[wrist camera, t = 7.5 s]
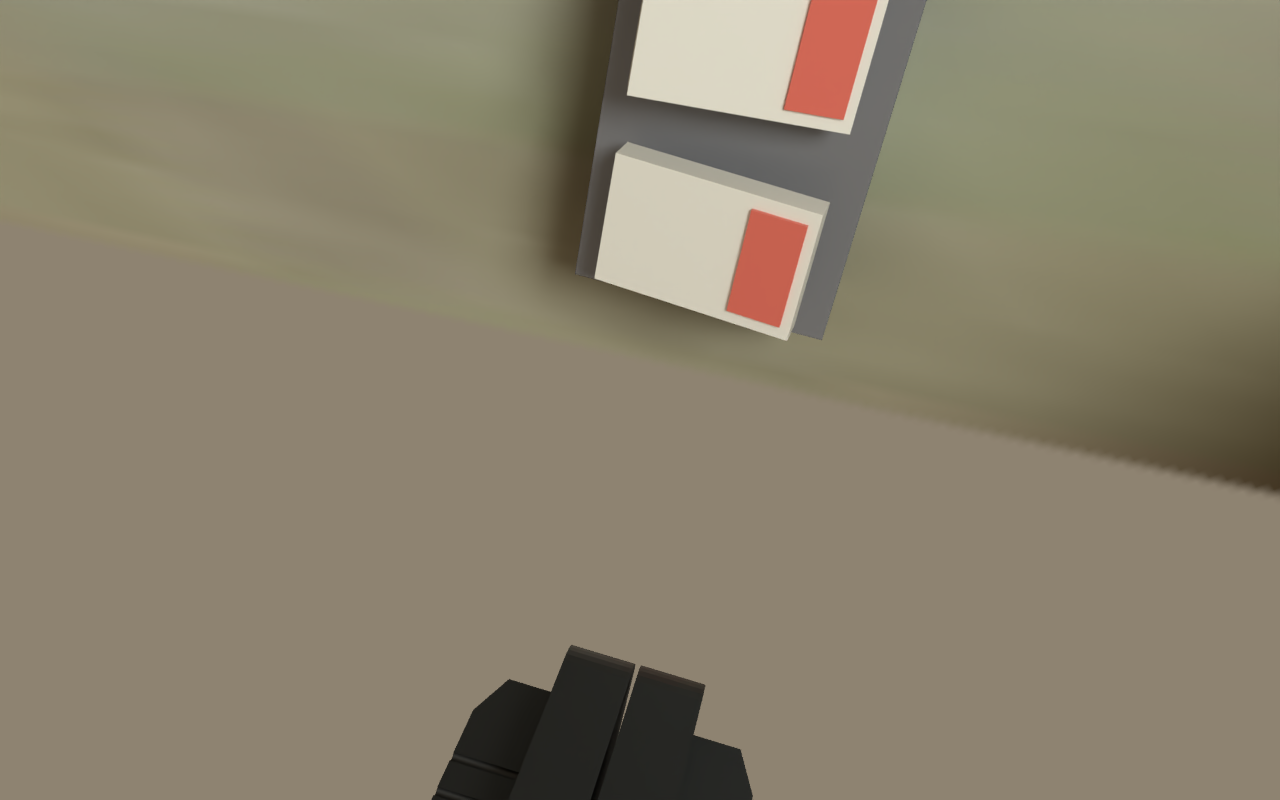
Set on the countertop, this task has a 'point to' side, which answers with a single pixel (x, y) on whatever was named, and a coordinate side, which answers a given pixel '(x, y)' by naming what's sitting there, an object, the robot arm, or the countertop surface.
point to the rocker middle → (758, 57)
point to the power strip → (758, 149)
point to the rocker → (708, 239)
